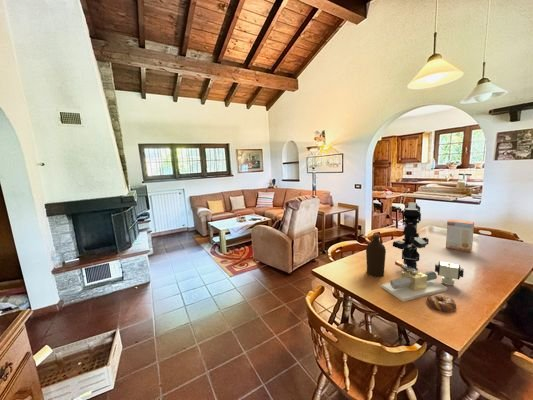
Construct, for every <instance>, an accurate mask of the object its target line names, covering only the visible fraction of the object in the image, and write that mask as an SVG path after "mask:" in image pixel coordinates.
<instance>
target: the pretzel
mask: <svg viewBox="0 0 533 400" xmlns="http://www.w3.org/2000/svg"><path fill="white" fill-rule="evenodd" d="M426 302H427V304H428V306H430V307H431V308H432V309H433V310H437V311H442V312H444V313H451V312H452V311H453V310H455V309H457V304H456V302H455V300H454V299H453V298H452V297H445V296H444V295H440V294H439V295H437V294H430V295H427V297H426Z"/></svg>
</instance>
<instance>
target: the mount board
mask: <svg viewBox="0 0 533 400" xmlns="http://www.w3.org/2000/svg"><path fill="white" fill-rule="evenodd" d="M381 288H382V289H384V290H385V291H387V292H388V293H389V294H391V295H393V296H394V297H396V298H397V299H398V300H400V301H402V302H407V301H411V300H414V299H418V298H422V297H426V296H430V295H435V294H437V293H441V292H444V291H448V287H447V286H445V285H444V284H441V283H439V282H437V281H435V280H431V281H427V288H426V289H422V290H418V291H413V290H411V289H409V288H408V287H402V288H398V289H394V288H392V286H391V284H390V282H386V283H383V284H381Z"/></svg>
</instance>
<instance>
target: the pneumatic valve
mask: <svg viewBox="0 0 533 400" xmlns="http://www.w3.org/2000/svg"><path fill="white" fill-rule="evenodd" d="M434 272H435V273H436V274H437V276H438V277H439V276H440V277H441V282H442V283H443V285H446V286H453V285H455V280H460V279H461V278H464V268H463V267H462V268H461V265H460V264H456V263H455V264H454V263H451V262H445V261H438V263H435V265H434Z"/></svg>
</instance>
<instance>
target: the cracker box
mask: <svg viewBox="0 0 533 400" xmlns="http://www.w3.org/2000/svg"><path fill="white" fill-rule="evenodd" d="M474 227H475V222H473V221H465V220H458V219H457V220H456V219H449V220H447V224H446V237H445V239H446V240H445V242H446V243H445V248H446V249H452V250H456V251H461V252H466V253H471V252H472V251H473V245H474V244H473V241H474V240H473V239H474V231H475V230H474Z"/></svg>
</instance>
